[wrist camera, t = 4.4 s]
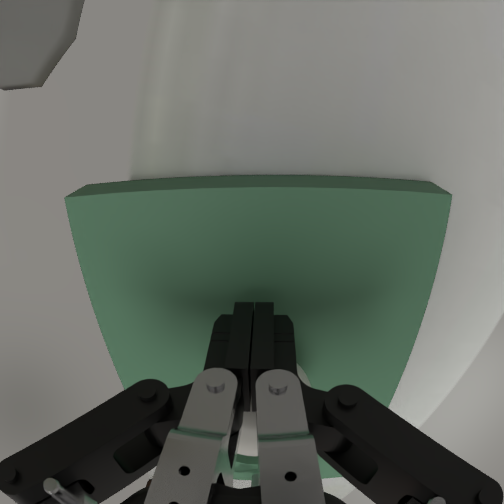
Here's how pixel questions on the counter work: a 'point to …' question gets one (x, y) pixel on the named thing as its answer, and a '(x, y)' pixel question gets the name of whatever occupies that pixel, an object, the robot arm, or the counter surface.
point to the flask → (34, 39)
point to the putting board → (261, 272)
